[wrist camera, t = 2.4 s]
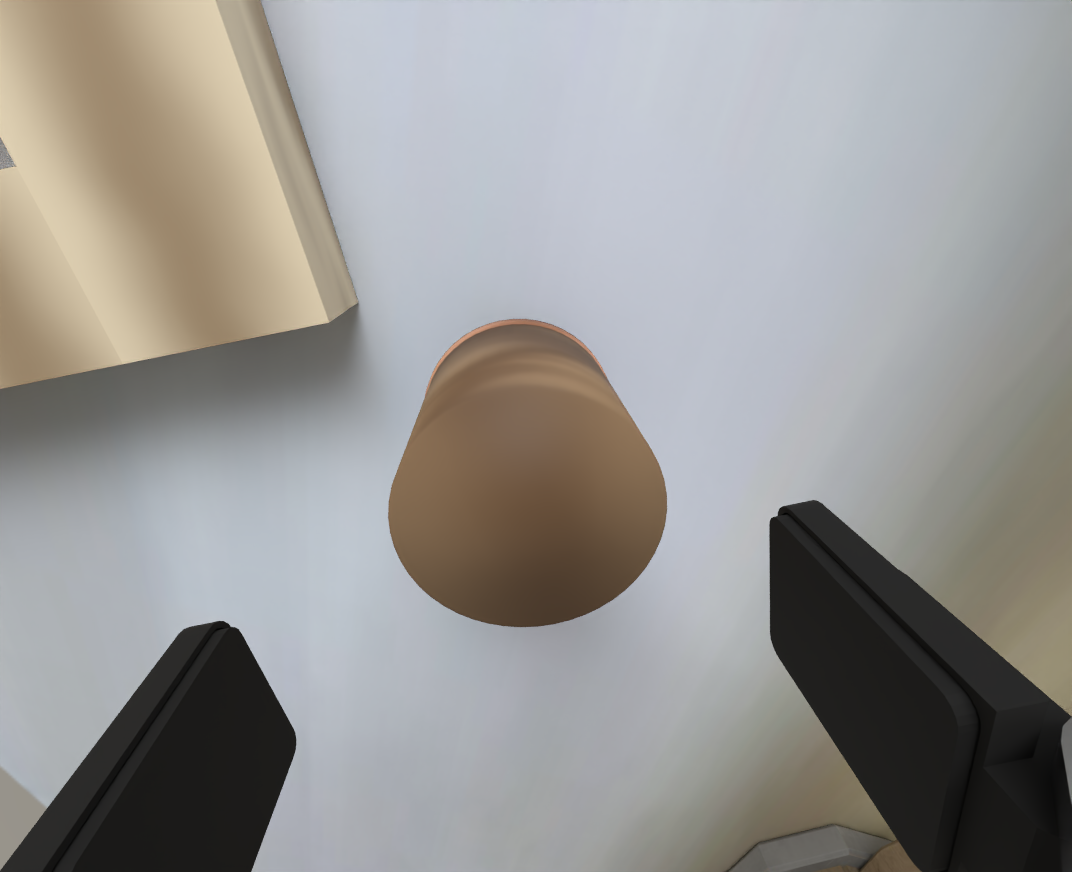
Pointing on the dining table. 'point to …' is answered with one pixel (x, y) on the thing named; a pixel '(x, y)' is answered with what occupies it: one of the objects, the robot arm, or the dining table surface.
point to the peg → (525, 481)
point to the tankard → (827, 853)
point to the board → (152, 187)
